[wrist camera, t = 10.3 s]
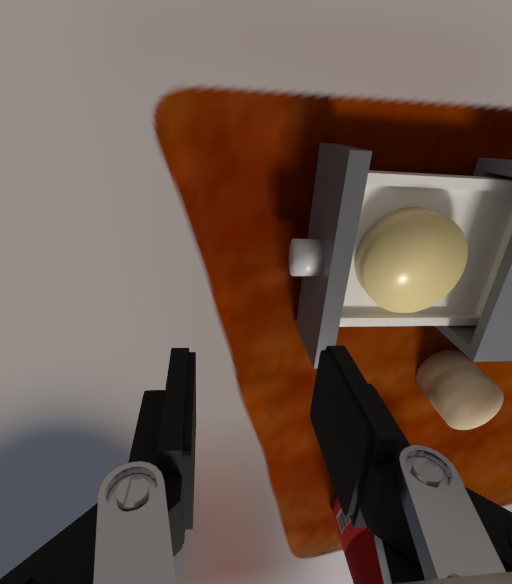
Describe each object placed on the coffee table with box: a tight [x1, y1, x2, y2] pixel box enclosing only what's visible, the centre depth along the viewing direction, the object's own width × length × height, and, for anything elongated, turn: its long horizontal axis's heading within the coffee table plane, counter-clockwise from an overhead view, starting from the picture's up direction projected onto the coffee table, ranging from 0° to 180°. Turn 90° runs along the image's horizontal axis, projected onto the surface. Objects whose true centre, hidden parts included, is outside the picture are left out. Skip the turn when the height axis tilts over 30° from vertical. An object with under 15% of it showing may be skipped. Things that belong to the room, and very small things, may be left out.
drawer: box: [289, 143, 512, 368], centre depth 25 cm, size 16×14×5 cm
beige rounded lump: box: [416, 350, 504, 430], centre depth 32 cm, size 5×5×4 cm
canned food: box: [333, 497, 384, 584], centre depth 36 cm, size 8×8×11 cm
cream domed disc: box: [355, 207, 468, 313], centre depth 25 cm, size 7×7×2 cm
